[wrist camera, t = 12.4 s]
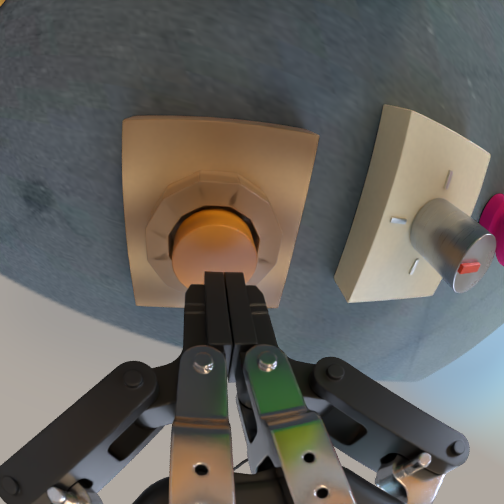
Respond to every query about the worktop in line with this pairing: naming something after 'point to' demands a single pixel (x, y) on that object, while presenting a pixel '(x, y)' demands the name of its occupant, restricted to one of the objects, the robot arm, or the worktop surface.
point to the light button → (213, 246)
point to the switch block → (211, 193)
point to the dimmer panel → (405, 204)
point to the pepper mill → (495, 223)
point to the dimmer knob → (452, 243)
